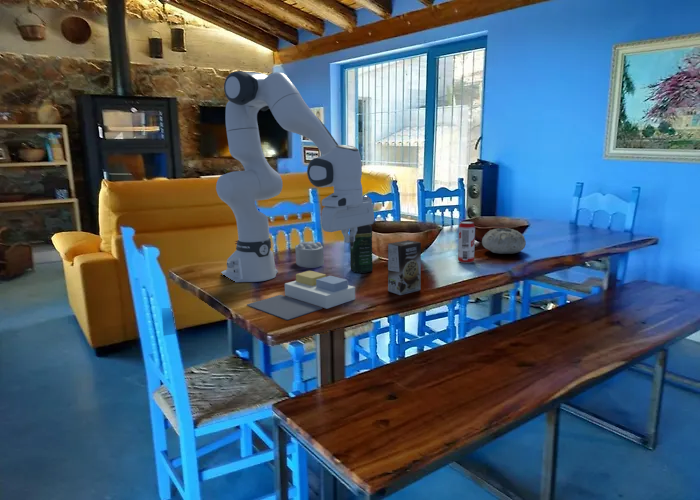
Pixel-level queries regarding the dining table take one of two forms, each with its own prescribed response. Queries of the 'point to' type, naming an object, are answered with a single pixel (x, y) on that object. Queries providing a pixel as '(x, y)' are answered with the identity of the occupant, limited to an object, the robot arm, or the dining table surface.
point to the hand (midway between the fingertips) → (349, 242)
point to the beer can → (466, 242)
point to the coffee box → (404, 267)
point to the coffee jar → (362, 250)
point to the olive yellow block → (309, 277)
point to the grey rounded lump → (504, 241)
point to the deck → (319, 294)
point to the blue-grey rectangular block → (332, 283)
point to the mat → (284, 307)
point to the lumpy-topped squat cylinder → (309, 254)
